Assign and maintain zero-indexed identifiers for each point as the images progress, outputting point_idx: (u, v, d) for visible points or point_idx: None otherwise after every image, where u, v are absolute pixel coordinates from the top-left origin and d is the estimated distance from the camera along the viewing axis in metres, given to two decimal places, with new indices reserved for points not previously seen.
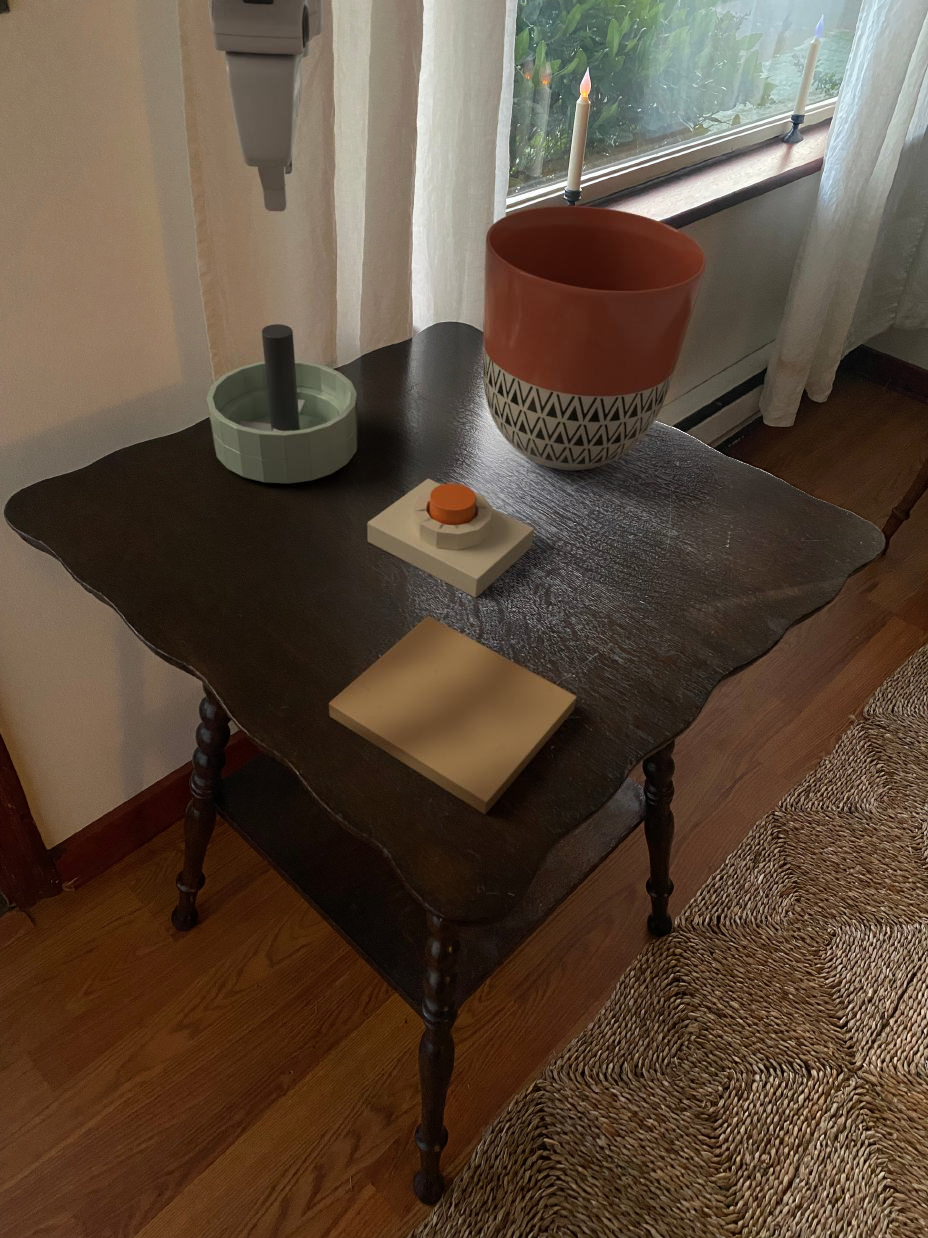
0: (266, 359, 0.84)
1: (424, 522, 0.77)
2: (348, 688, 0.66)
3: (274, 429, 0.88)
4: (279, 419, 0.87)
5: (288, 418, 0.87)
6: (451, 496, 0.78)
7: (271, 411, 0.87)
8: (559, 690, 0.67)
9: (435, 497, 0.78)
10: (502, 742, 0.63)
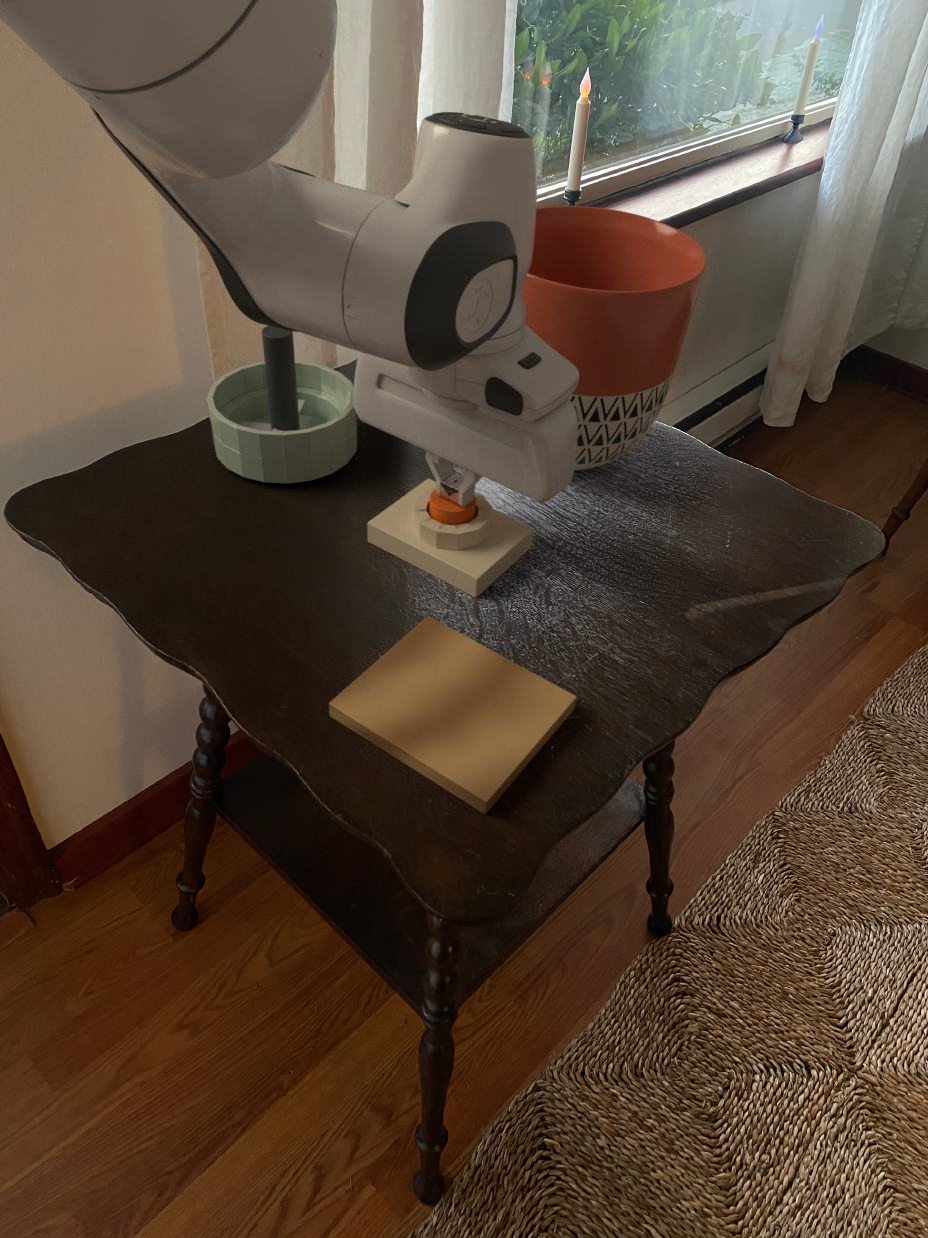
0: (266, 359, 0.84)
1: (424, 522, 0.77)
2: (348, 688, 0.66)
3: (274, 429, 0.88)
4: (279, 419, 0.87)
5: (288, 418, 0.87)
6: None
7: (271, 411, 0.87)
8: (559, 690, 0.67)
9: (435, 499, 0.78)
10: (502, 742, 0.63)
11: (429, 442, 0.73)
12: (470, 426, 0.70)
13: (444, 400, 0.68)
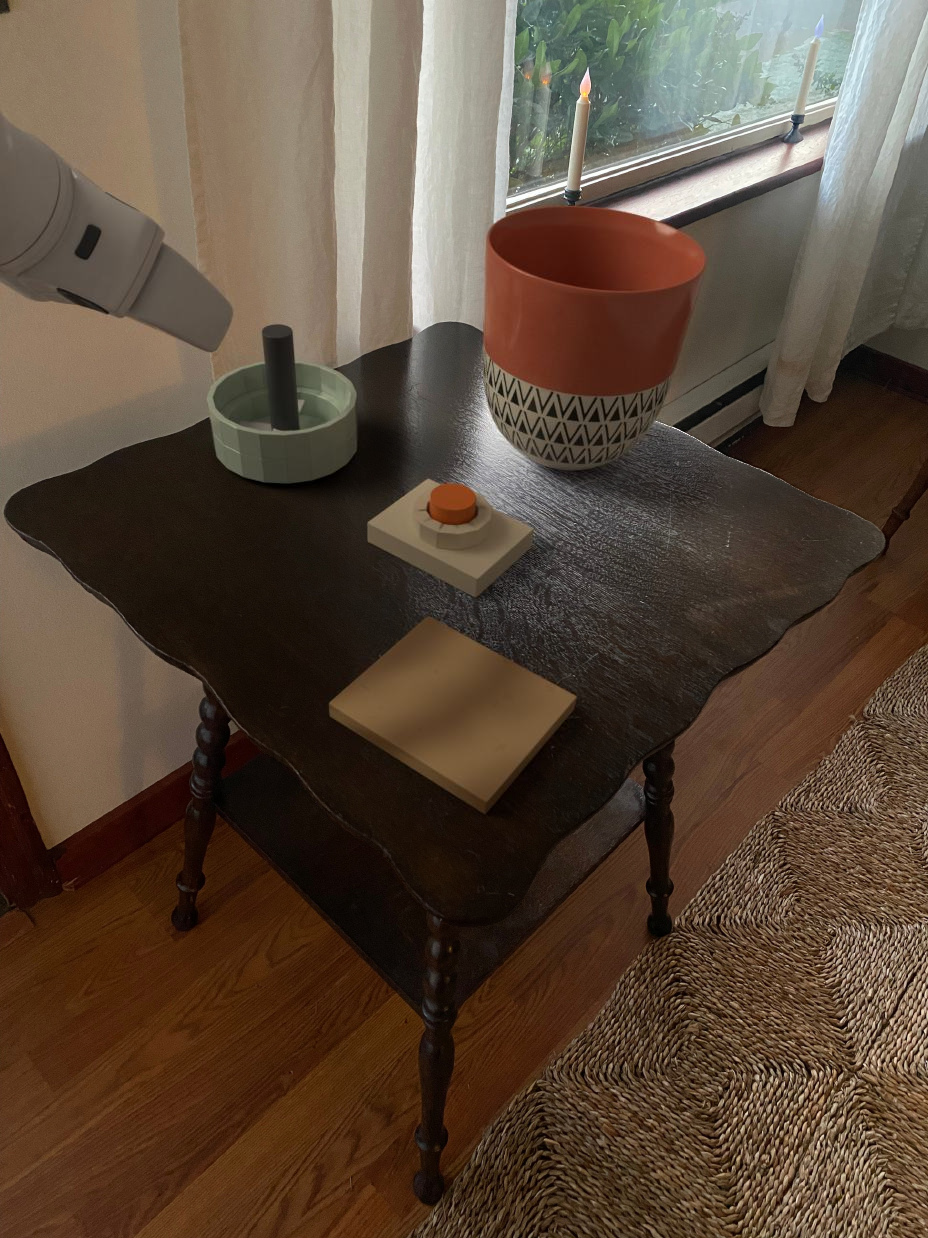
0: (266, 359, 0.84)
1: (424, 522, 0.77)
2: (348, 688, 0.66)
3: (274, 429, 0.88)
4: (279, 419, 0.87)
5: (288, 418, 0.87)
6: (451, 496, 0.78)
7: (271, 411, 0.87)
8: (559, 690, 0.67)
9: (435, 497, 0.78)
10: (502, 742, 0.63)
11: None
12: None
13: None
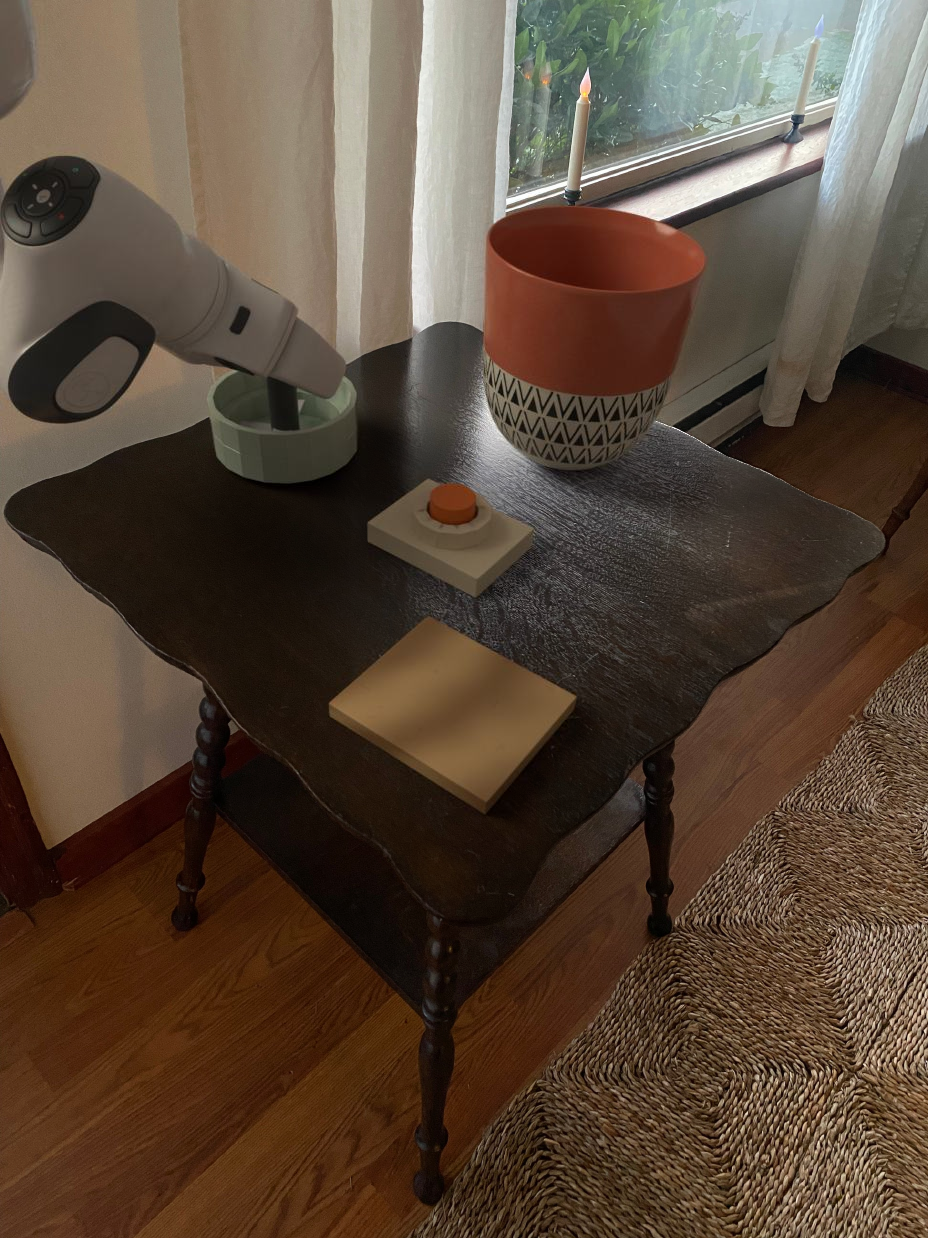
0: None
1: (424, 522, 0.77)
2: (348, 688, 0.66)
3: (274, 429, 0.88)
4: (279, 419, 0.87)
5: (288, 418, 0.87)
6: (451, 496, 0.78)
7: (271, 411, 0.87)
8: (559, 690, 0.67)
9: (435, 497, 0.78)
10: (502, 742, 0.63)
11: None
12: None
13: None
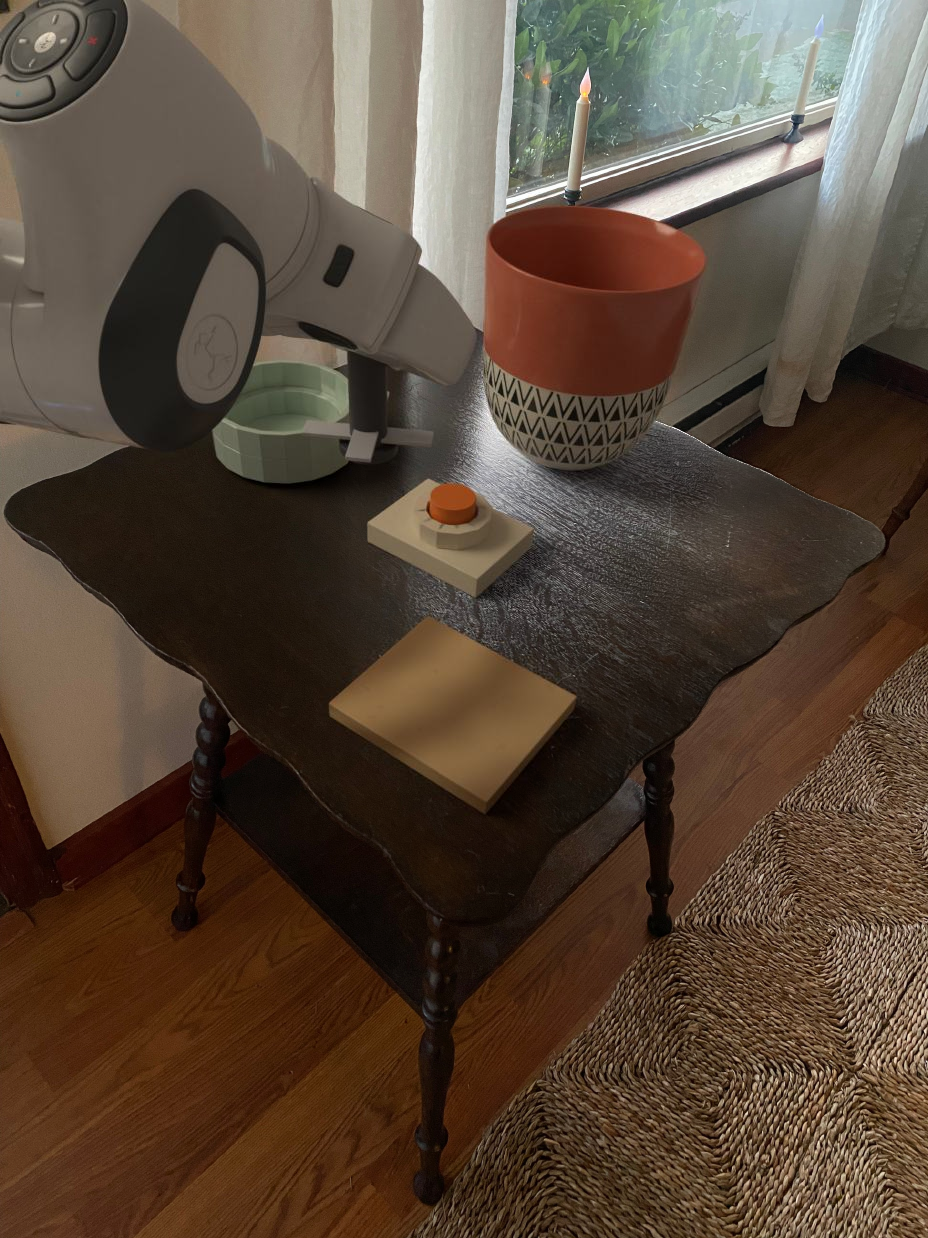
0: None
1: (424, 522, 0.77)
2: (348, 688, 0.66)
3: (355, 430, 0.65)
4: (363, 417, 0.64)
5: (375, 415, 0.64)
6: (451, 496, 0.78)
7: (352, 406, 0.64)
8: (559, 690, 0.67)
9: (435, 497, 0.78)
10: (502, 742, 0.63)
11: None
12: None
13: None
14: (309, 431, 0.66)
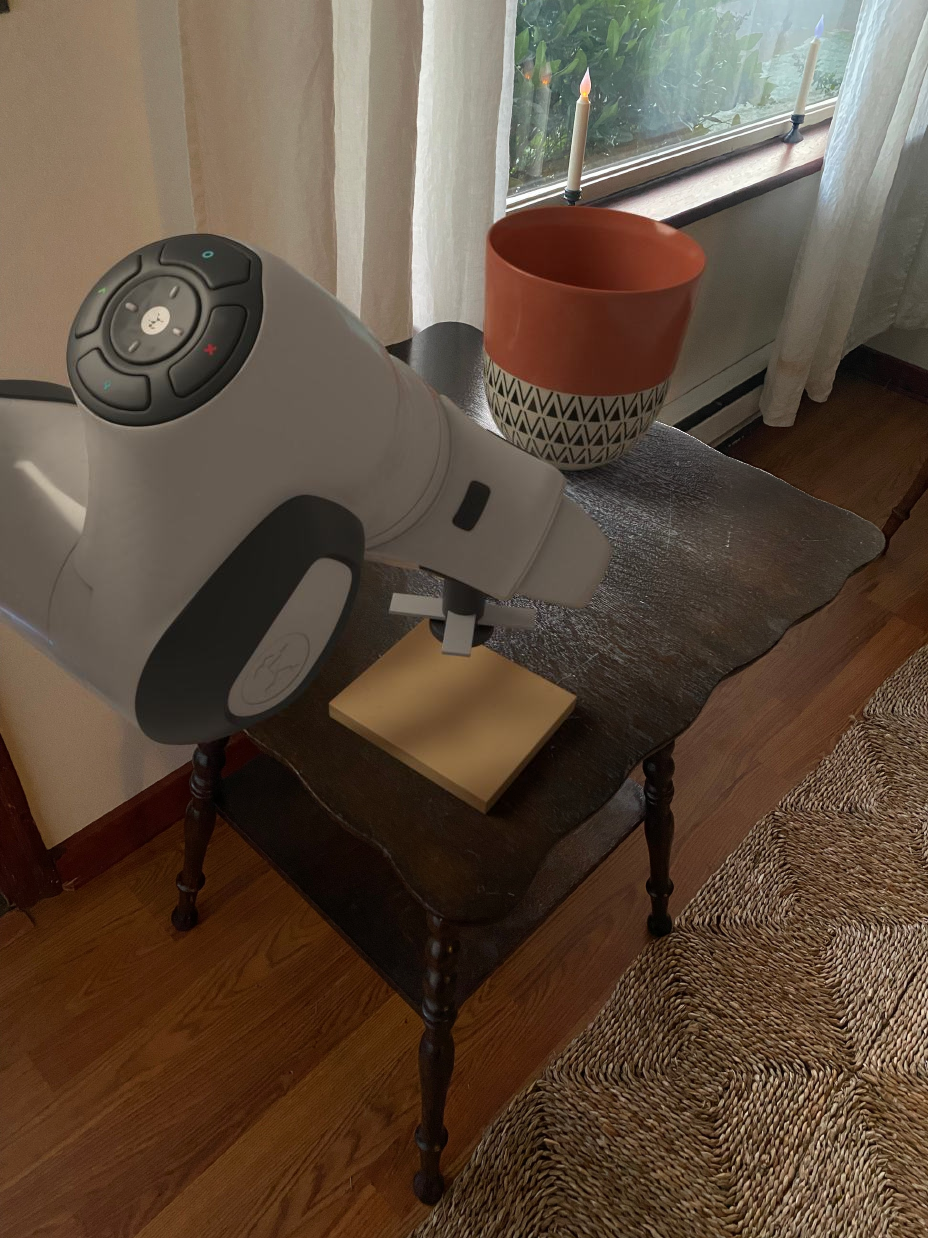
0: None
1: None
2: (348, 688, 0.66)
3: (450, 613, 0.58)
4: (460, 601, 0.57)
5: (474, 599, 0.57)
6: None
7: (448, 588, 0.57)
8: (559, 690, 0.67)
9: None
10: (502, 742, 0.63)
11: None
12: None
13: None
14: (397, 609, 0.59)
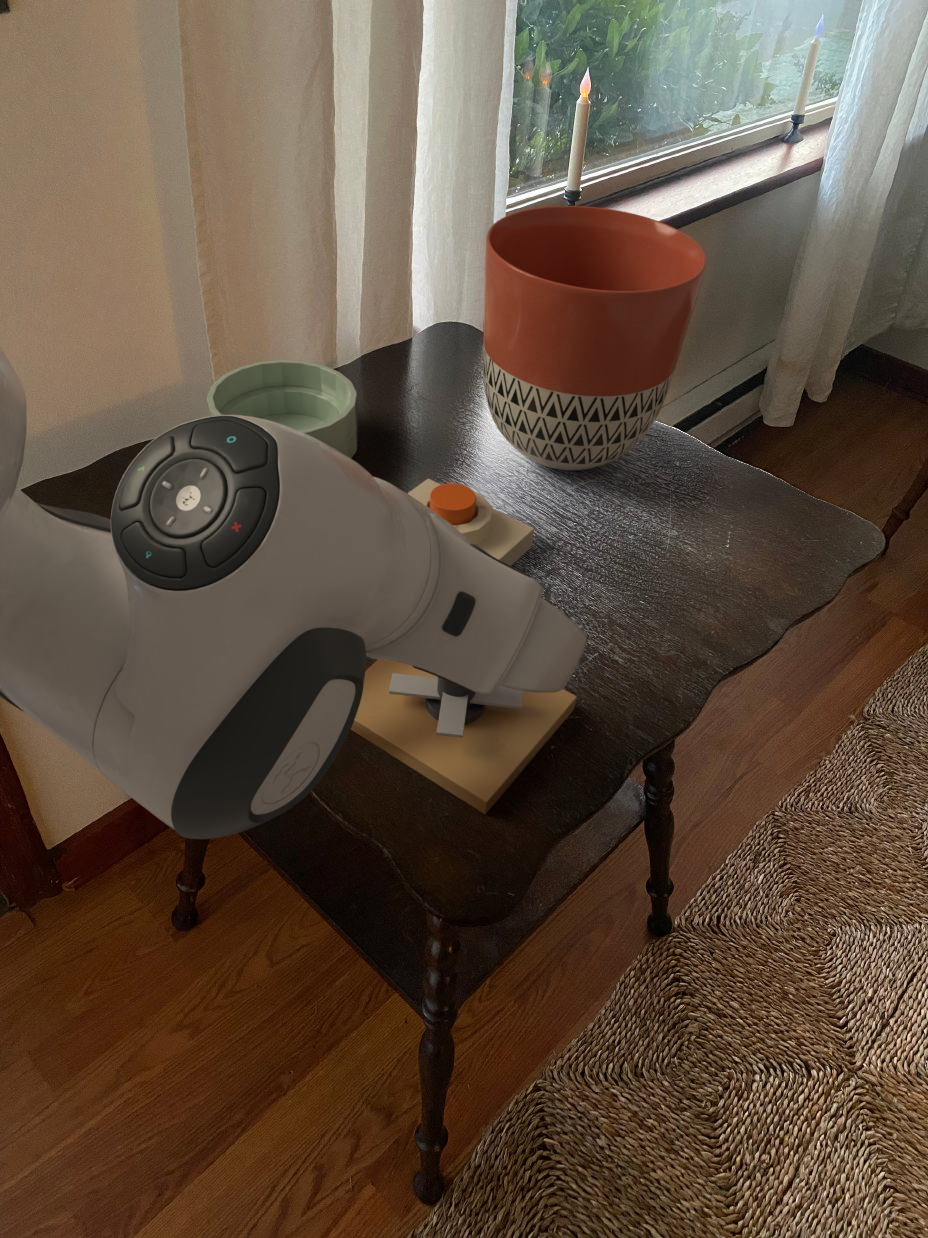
0: None
1: None
2: None
3: (444, 694, 0.63)
4: (453, 684, 0.62)
5: None
6: (451, 496, 0.78)
7: None
8: None
9: (435, 497, 0.78)
10: (502, 742, 0.63)
11: None
12: None
13: None
14: (396, 689, 0.64)
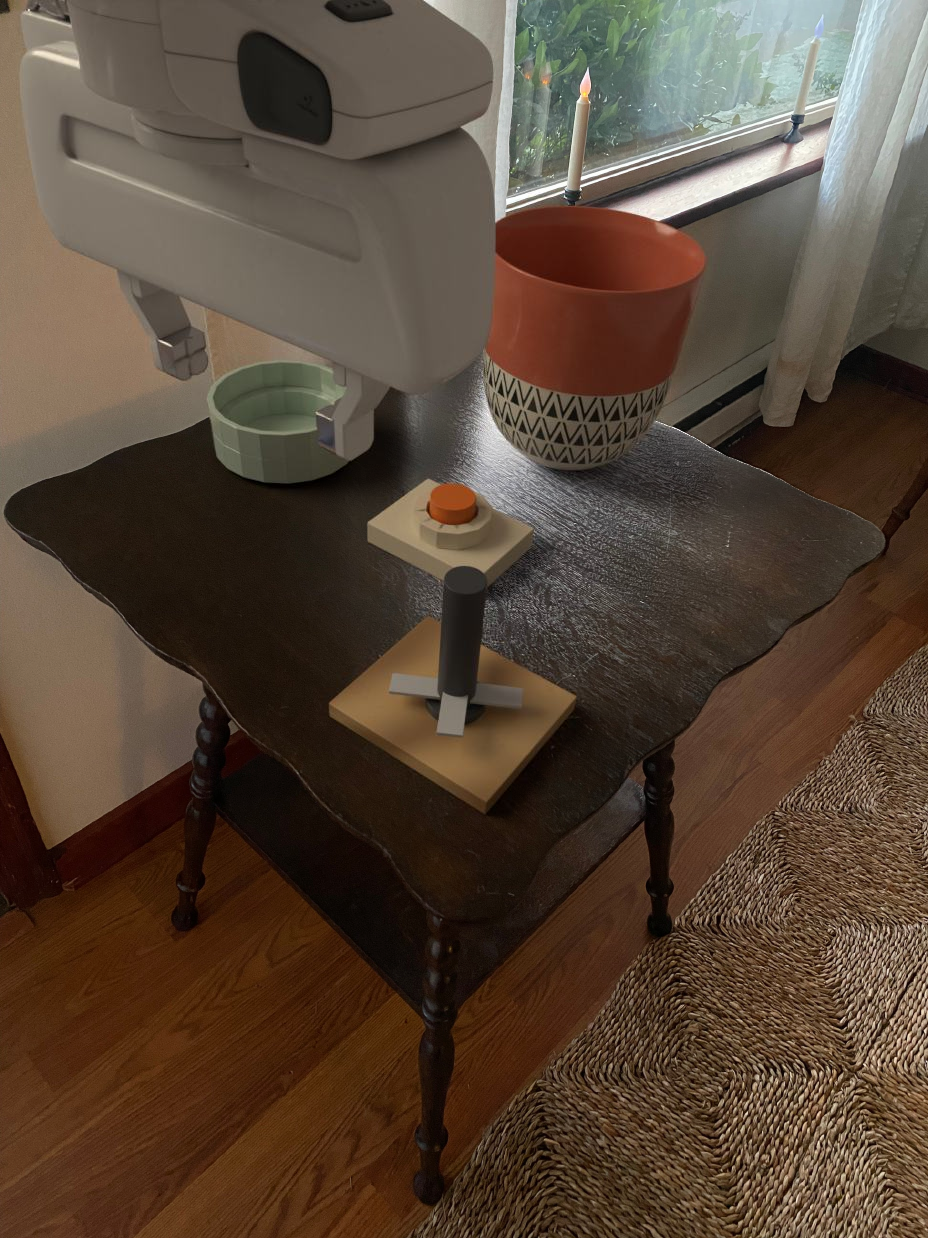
0: (447, 616, 0.58)
1: (424, 522, 0.77)
2: (348, 688, 0.66)
3: (444, 694, 0.63)
4: (453, 684, 0.62)
5: (466, 683, 0.62)
6: (451, 496, 0.78)
7: (443, 673, 0.62)
8: (559, 690, 0.67)
9: (435, 497, 0.78)
10: (502, 742, 0.63)
11: (179, 273, 0.33)
12: (248, 217, 0.30)
13: (169, 140, 0.28)
14: (396, 689, 0.64)
